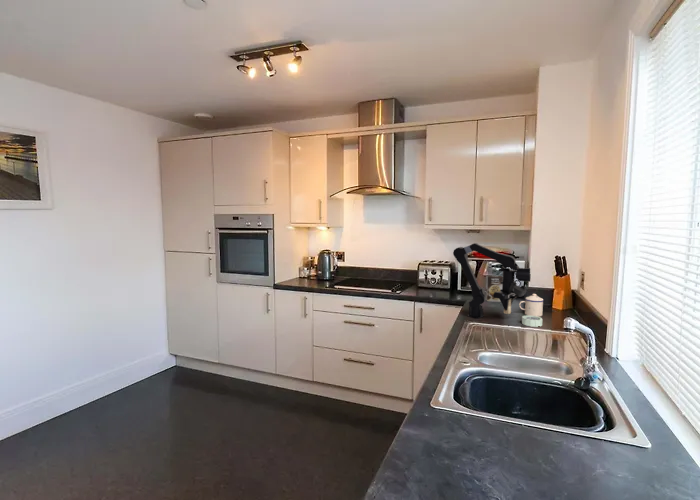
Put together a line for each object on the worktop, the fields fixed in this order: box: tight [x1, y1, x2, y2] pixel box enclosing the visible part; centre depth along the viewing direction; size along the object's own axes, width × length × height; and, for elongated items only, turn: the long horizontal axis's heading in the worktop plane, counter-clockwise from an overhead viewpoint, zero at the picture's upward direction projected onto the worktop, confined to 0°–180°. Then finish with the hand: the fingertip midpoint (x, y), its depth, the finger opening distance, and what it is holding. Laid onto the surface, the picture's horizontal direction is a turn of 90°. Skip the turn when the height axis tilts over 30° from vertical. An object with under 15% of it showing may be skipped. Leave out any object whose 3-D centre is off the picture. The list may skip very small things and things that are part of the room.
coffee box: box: [485, 274, 503, 303], centre depth 239 cm, size 9×6×16 cm
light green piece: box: [521, 315, 543, 328], centre depth 188 cm, size 9×9×3 cm
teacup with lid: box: [518, 293, 544, 318], centre depth 206 cm, size 12×9×12 cm
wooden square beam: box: [503, 299, 512, 315], centre depth 194 cm, size 2×2×8 cm
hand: (507, 309), depth 194 cm, fingers closed on wooden square beam, 2 cm apart
